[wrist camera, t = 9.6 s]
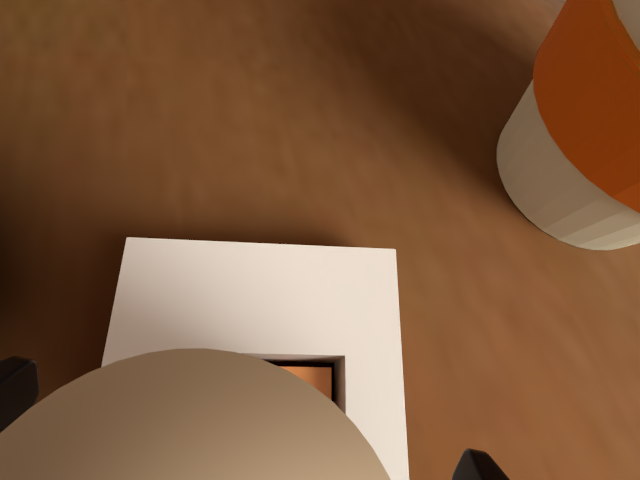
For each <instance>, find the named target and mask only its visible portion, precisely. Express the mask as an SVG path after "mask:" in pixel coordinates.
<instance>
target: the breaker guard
mask: <svg viewBox="0 0 640 480" xmlns="http://www.w3.org/2000/svg"><path fill="white" fill-rule="evenodd" d="M194 348H207V349H215V350H223V351H231V352H236V353H240V354H244V355H247V356H251V357H255V358H259V359H262V360H264V361H271V362H319V363H334V403H335V404H336V405H337V406H338V407H339V408H340V409H341V410H342V412H343V413H344V414H345V415H346V416H347V417H348V418H349V419H350V420H351V421H352V422H353V423H354V424H355V425H356V427H357V428H358V429H359V431H360V432H361V433H362V435H363V436H364V437H365V439H366V440H367V441H368V443H369V444H370V445H371V447H372V448H373V449H374V451H375V453H376V455H377V456H378V458H379V460H380V462H381V463H382V465H383V467H384V468H385V470H386V472H387V474H388V475H389V477H390V480H409V469H408V452H407V435H406V418H405V401H404V384H403V366H402V349H401V332H400V315H399V298H398V281H397V264H396V249H381V248H358V247H336V246H313V245H291V244H268V243H246V242H223V241H201V240H178V239H156V238H133V237H127V238H126V243H125V248H124V254H123V259H122V264H121V269H120V274H119V279H118V284H117V289H116V294H115V299H114V304H113V309H112V315H111V320H110V325H109V330H108V335H107V340H106V345H105V350H104V355H103V360H102V365H101V367H103V366H106V365H108V364H111V363H113V362H116V361H119V360H122V359H126V358H130V357H134V356H137V355H141V354H145V353H149V352H157V351H164V350H171V349H194Z"/></svg>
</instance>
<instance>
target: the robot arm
mask: <svg viewBox="0 0 640 480" xmlns="http://www.w3.org/2000/svg"><path fill="white" fill-rule="evenodd" d="M38 395H39V381H38V370H37V363H36V362H35V361H34V360H32V359H28V358H23V357H18V356H14V357H10V358H7V359H5V360H2V361H0V433H1V432H2V431H3V430H5V429H6V428H7V427H8V426H9V425H10V424H12V423H13V422H14V421H15V420H16V419H18V418H19V417H20V416H21V415H22V414H23V413H25V412H26V411H27V410H28V409H29V408H31V407H32V406H33V405H34V403H35V402H36V400H37V398H38ZM452 480H510V479H509V478H508V477H507V476H506V474H505V473H504V472H503V471H502V470H501V469H500V467H499V466H498V465H497V464H496V463H495V461H494V460H493V459H492V458H491V457H490V456H489V454H487V453H486V452H484V451H479V450H474V449H466V450H465V451H464V452H463V454H462V456H461V458H460V460H459V462H458V464H457V466H456V469H455V471H454V473H453V476H452Z"/></svg>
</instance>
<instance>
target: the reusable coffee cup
mask: <svg viewBox="0 0 640 480" xmlns="http://www.w3.org/2000/svg"><path fill="white" fill-rule="evenodd" d="M497 165H498V170H499V175H500V178H501V180H502V183H503V185H504V187H505V190H506V192H507V193H508V195H509V196H510V198H511V199H512V201H513V203H514V204H515V206H516V207H517V208H518V209H519V210H520V211H521V212H522V213H523V214H524V216H525V217H526V218H527V219H528V220H530V221H531V222H532V223H533V224H535V225H536V226H537V227H538V228H539V229H541V230H542V231H544V232H545V233H547V234H549V235H551V236H552V237H554V238H556V239H557V240H560V241H562V242H565V243H567V244H570V245H573V246H575V247H580V248H585V249H590V250H612V249H617V248H622V247H627V246H630V245H634V244H637V243H640V0H567V1H566V3H565V4H564V6H563V8H562V10H561V11H560V13H559V15H558V17H557V19H556V20H555V22H554V24H553V26H552V27H551V29H550V31H549V33H548V35H547V36H546V38H545V40H544V42H543V43H542V45H541V47H540V49H539V51H538V52H537V56H536V60H535V64H534V68H533V80H532V81H531V83H530V85H529V86H528V88H527V90H526V91H525V93H524V95H523V96H522V98H521V100H520V102H519V103H518V105H517V107H516V108H515V110H514V112H513V113H512V115H511V117H510V118H509V120H508V122H507V123H506V125H505V127H504V129H503V131H502V132H501V134H500V137H499V141H498V145H497Z"/></svg>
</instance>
